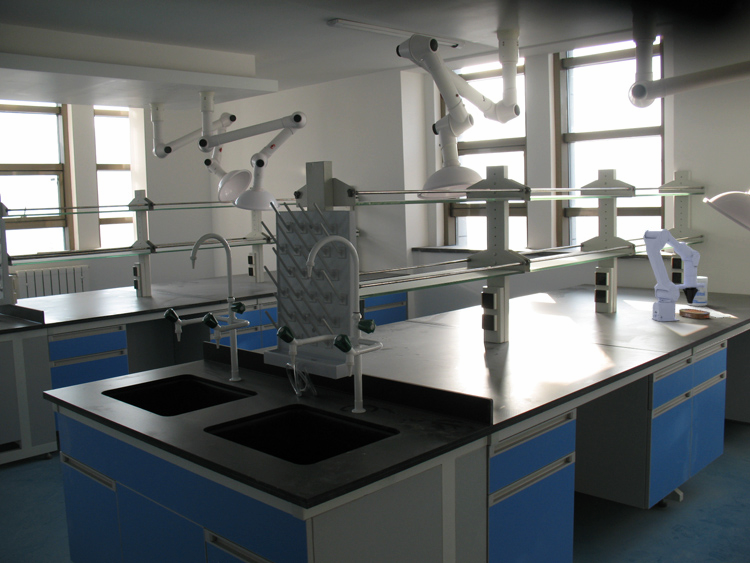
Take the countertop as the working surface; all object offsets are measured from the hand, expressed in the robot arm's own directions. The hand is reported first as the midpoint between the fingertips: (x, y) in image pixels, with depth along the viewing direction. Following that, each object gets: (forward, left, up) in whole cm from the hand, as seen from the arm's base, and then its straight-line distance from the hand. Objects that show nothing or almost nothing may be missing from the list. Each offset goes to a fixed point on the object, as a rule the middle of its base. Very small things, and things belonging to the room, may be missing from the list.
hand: (689, 303), depth 321 cm
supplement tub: (+21, +28, -7) cm, 36 cm away
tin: (+6, 0, -5) cm, 8 cm away
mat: (+12, 0, -6) cm, 14 cm away
